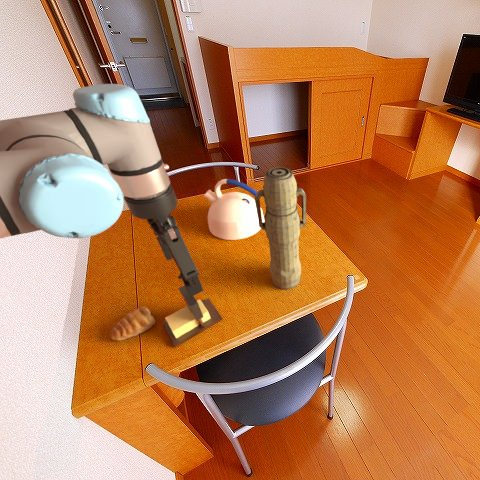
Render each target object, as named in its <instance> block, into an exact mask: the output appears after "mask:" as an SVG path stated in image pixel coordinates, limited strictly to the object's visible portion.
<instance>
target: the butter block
mask: <svg viewBox="0 0 480 480" xmlns="http://www.w3.org/2000/svg"><path fill="white" fill-rule="evenodd" d="M164 319H165V321H167V323H168V324H169V326H170V328H171V330H172V332H173V334H174V336H175V337H176V338H178V337H180V336H181V335H183V334H185V333H186V332H188V331H190V330H192V329H193V328H195V327H197V326H198V325H200V323H199V321H196V319H195V318H194V316H193V314H192V313H191V311H190V309H189V308H188V306H187V305H186V306H184V307H182V308H180V309H179V310H176V311H174V312H173V313H171V314H169V315H167V316H166V317H165V318H164Z"/></svg>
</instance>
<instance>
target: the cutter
mask: <svg viewBox="0 0 480 480" xmlns="http://www.w3.org/2000/svg"><path fill="white" fill-rule="evenodd" d="M178 290H179V292H180V294H181V296H182V299H183V302H185V305H186V306H188V308H189V309H190V311H191V313H192V314H193V316H194V318H195V319H196V321H199V322H200V324H201V325H202V327H203V326H204V324H203V322H202V319H201V318H203V317H204V316H203V314H202V312H201V309H200V307H199V304H198V302H197V299H196V298H195V295H194V296H192V297H190V296H189V294H188V291H187V289H186V287H185V285H184V284H183V286H180V287H178Z"/></svg>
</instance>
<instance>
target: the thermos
mask: <svg viewBox="0 0 480 480" xmlns="http://www.w3.org/2000/svg"><path fill="white" fill-rule="evenodd" d="M297 184H298V183H297V180H296V178H295V176H294V173H293V171H292V170H291V169H289V168H286V167H283V166H276V167H272V168H270V169H268V170H267V171H266V172H265V174H264V178H263V185H262V189H259V190H258V191H257V192H258V193H257V194H256V196H254V199H255V204H256V209H257V215H258V220H259V227H260V228H261V229H260V230H263V231H264V232H265V235H266V238H267V239H268V246H269V255H270V261H269V272H270V277H271V283H272V284H273V286H274V287H276V288H277V289H280V290H284V291H285V290H286V291H288V290H292V289H294V288H296V287H297V286H298V285H299V284H300V283H301V279H302V278H301V277H302V276H301V275H302V264H301V260H300V251H299V250H300V248H299V247H300V244H299V243H300V242H299V239H300V236H301V230H302V227H306V225H307V194H306V192H305V191H304V189H303V188H302V187H298V186H297ZM300 195H301V215H300V213H299V211H298V197H299V196H300ZM261 197H263V198H264V199H263V200H264V204H265V205H264V206H265V213H264V222H262V215H261V209H262V206H261V201H260V200H261Z"/></svg>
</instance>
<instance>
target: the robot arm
mask: <svg viewBox="0 0 480 480" xmlns="http://www.w3.org/2000/svg"><path fill="white" fill-rule="evenodd" d="M72 98H73V100H74V107H72V108H69V109H65V110H64V109H63V110H60V111H52V112H47V113H40V114H33V115H27V116H20V117H14V118H8V119H7V118H6V119H1V120H0V239H4V238H9V237H14V236H18V235H25V234H28V233H29V234H30V233H34V232H39V231H43V232H44V233H46V234H49V235H51V236H54V237H58V238H64V239H65V238H67V239H85V238H91V237H94V236H96V235H98V234H102V233H104V232H105V231H106V230H108V229H110V228H111V227H112V226H114V224H115V223H116V222H117V221H118V220H119V218H120V217H121V215H122V212H123V209H124V201H125V203H126V205H127V208H128V209H129V212H130V213H131V215H132V216H134V218H138V219H141V220H146V222H147V223H148V226H149V228H150V229H151V230H152V231H153V234H154V235H155V236H156V240H157V242H158V244H159V246H160V248H161V251H162V253H163V255H164V257H165V259H166V261H170V260H172V259H173V261H174V263H175V265H176V267H177V268H178V271H179V275H178V276H177V278H178V280H182V282H183V286H184V285H185V287H186V289H187V291H188V294H189V296H190V297H192V296H194V297H195V296H196V295H198V294H200V293H202V292H204V289H203V286H202V283H201V280H200V278H199V275H200V271H199V270H198V268H197V266H196V264H195V262H194V260H193V258H192V256H191V254H190V251H189V249H188V247H187V245H186V243H185V240H184V239H183V237H182V234H181V231H180V227H179V226H177V221H176V219H175V217H174V216H173V215H172V214H171V213H172V212H173V211H175V209H176V208H177V207H178V198H177V196H176V193H175V190H174V188H173V186H172V184H171V179H170V177H169V175H168V172H167V171H168V170H169V169H170V166H169V165H168V164H167V163H164V160H163V157H162V155H161V152H160V148H159V147H158V143H157V141H156V137H155V134H154V132H153V128H152V126H151V121H150V120H151V119H150V117H148V114H147V112H146V108H145V107H144V105H143V102H142V100H141V98H140V96H139V94H138V93H137V91H136V90H135V89H133V88H132V87H130V86H128V85H125V84H121V83H120V84H119V83H98V84H91V85H88V86H82V87H79V88H76V89H75V90H74V91H73V92H72ZM106 165H107V167H108V168H106V167H105V166H106Z"/></svg>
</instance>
